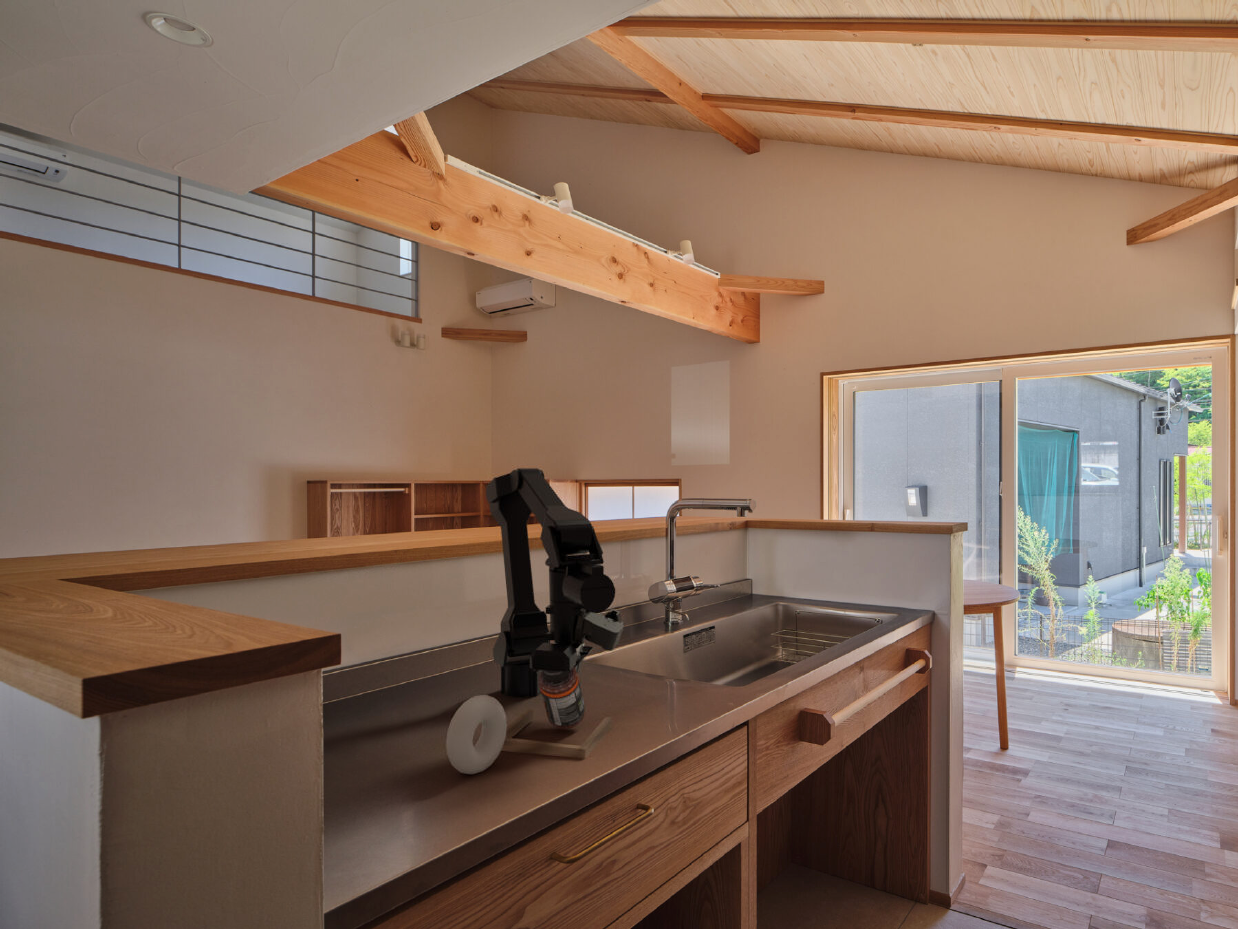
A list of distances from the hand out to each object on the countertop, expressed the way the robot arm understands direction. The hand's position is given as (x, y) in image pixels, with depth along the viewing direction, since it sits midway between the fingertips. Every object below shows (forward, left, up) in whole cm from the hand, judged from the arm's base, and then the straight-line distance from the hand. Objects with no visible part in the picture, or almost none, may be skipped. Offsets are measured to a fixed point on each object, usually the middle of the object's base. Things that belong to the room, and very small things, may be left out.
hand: (570, 695), depth 117 cm
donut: (-5, -22, -4) cm, 23 cm away
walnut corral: (0, -8, -4) cm, 9 cm away
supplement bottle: (0, -2, -3) cm, 3 cm away
